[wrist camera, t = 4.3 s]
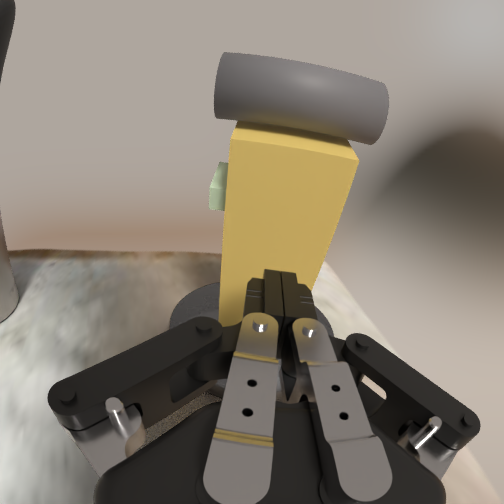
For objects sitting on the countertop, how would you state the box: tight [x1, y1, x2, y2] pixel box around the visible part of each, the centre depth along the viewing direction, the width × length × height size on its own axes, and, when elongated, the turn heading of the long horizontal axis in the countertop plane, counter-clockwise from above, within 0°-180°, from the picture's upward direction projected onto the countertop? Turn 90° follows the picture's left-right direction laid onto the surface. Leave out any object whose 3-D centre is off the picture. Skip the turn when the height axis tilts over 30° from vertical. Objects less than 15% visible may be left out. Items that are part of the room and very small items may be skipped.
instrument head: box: [209, 52, 389, 327], centre depth 19 cm, size 5×8×21 cm, turn 88°
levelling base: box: [170, 282, 334, 402], centre depth 26 cm, size 15×15×2 cm
